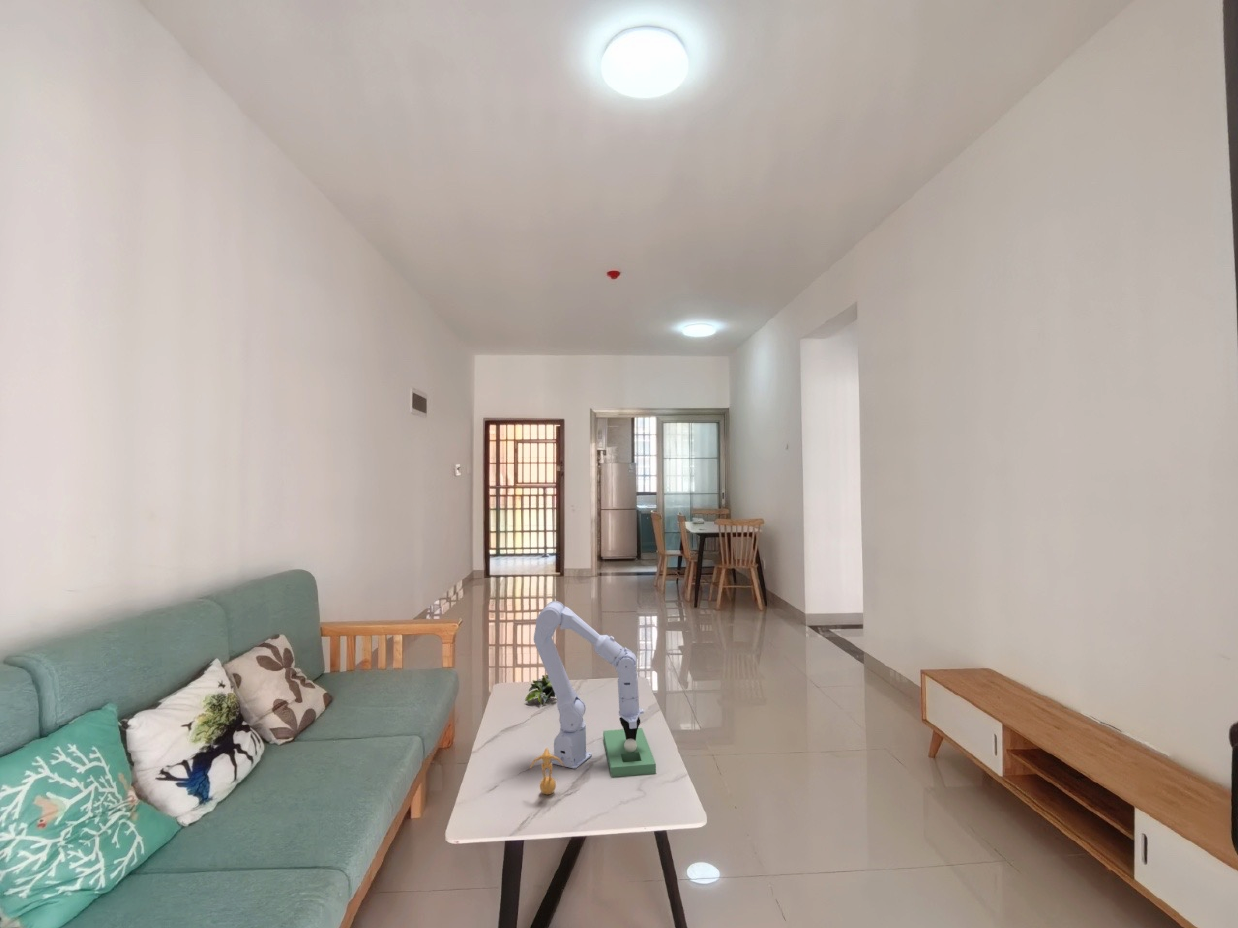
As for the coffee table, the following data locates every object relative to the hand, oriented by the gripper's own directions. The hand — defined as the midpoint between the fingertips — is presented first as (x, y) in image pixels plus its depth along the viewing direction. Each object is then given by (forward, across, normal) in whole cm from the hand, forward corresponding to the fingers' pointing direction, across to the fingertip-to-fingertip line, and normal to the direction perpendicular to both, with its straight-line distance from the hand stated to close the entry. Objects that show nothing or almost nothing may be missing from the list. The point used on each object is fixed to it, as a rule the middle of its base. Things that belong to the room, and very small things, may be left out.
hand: (631, 744), depth 168 cm
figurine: (+3, -16, +24) cm, 29 cm away
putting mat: (+4, +2, +1) cm, 5 cm away
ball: (0, -1, 0) cm, 1 cm away
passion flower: (+4, +49, +25) cm, 55 cm away
